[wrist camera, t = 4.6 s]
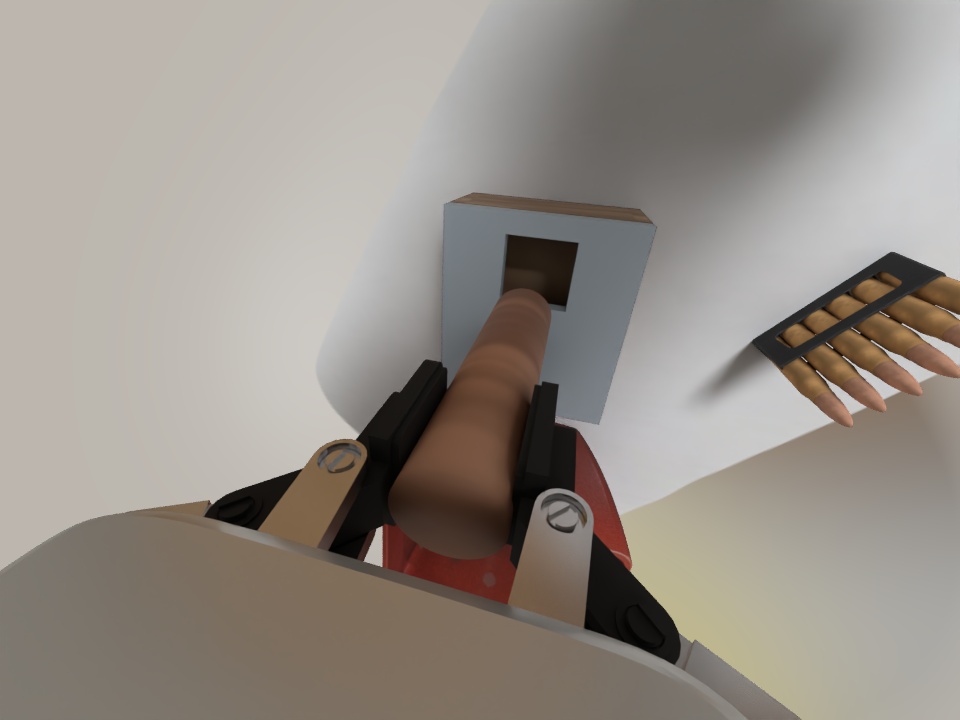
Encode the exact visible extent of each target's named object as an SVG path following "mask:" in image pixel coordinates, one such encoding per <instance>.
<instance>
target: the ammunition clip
mask: <svg viewBox="0 0 960 720" xmlns="http://www.w3.org/2000/svg"><path fill="white" fill-rule="evenodd" d="M866 304H868V305H866ZM935 305H937V306H939V307H942V308H944V309H946V310H949V311H951V312H953V313H956V314H958V315H960V281H958V280H955V279H952V278H949V277H946V275H945V273H943V272H941V271H938V270H936V269H933V268H931V267H929V266H926V265H924V264H921V263H919V262H917V261H914V260H912V259H909V258H907V257H905V256H902V255H900V254H897V253H895V252H890V253H889V254H887V255H885V256H884V257H882V258H881V259H879V260H878V261H876V262H874V263H873V264H871V265H870V266H868V267H867V268H865V269H863V270H862V271H860V272H859V273H857V274H856V275H854V276H852V277H851V278H849V279H848V280H846V281H845V282H843V283H841V284H840V285H838V286H837V287H835V288H834V289H832V290H830V291H829V292H827V293H826V294H824V295H823V296H821V297H819V298H818V299H816V300H815V301H813V302H812V303H810V304H808V305H807V306H805V307H804V308H802V309H801V310H799V311H797V312H796V313H794V314H793V315H791V316H790V317H788V318H786V319H785V320H783V321H782V322H780V323H779V324H777V325H775V326H774V327H772V328H771V329H769V330H768V331H766V332H764V333H763V334H761V335H760V336H758V337H757V338H755V339H753V342H752V343H753V344H754V345H755V346H756V347H757V348H758V349H759V350H760V351H761V352H762V353H763V354H764V355H765V356H766V357H767V358H768V359H769V360H771V361H772V362H773V363H774V365H775V366H776V367H777V368H778V369H779V370H780V371H781V372H782V373H783V374H784V375H785V377H786V378H787V379H788V380H789V381H790V382H791V383H792V384H793V385H794V386H795V388H796V389H797V390H798V391H799V392H800V393H801V394H802V395H804V396H805V397H807V398H808V399H810V400H811V401H812V402H813V403H814V404H815V405H816V406H818V407H819V409H820V410H821V411H822V412H824V413H825V414H826V415H827V416H829V417H830V418H831V419H833V420H834V421H836V422H838V423H839V424H841V425H844V426H846V427H852V426H853V420H852V417H851V415H850V413H849V411H848V410H847V408H846V407H845V405H844V404H843V403H842V402H841V400H840V399H839V398H838V397H837V396H836V395H835V394H834V392H833V391H832V390H831V389H830V388H829V386H828V384H827V382H826V381H825V380H824V379H823V378H822V377H821V376H820V375H819V374H818V373H817V372H816V370H817V371H818V372H820V373H821V374H822V375H823V376H824V377H825V378H826V379H827V380H829V381H830V382H832V383H833V384H835V385H837V386H839V387H840V388H841V389H842V390H844V391H845V392H847V393H848V394H849V395H850V396H851V397H853V398H854V399H855V400H857V401H858V402H860V403H861V404H863V405H865V406H867V407H869V408H871V409H873V410H876V411H879V412H886V405H885V403H884V401H883V399H882V397H881V396H880V394H879V393H878V392H877V391H876V390H875V389H874V388H873V386H871V385H870V384H869V383H868V382H867V381H866V380H865V379H864V378H863V377H862V376H861V375H860V374H859V373H858V372H857V370H856V369H855V367H854V366H853V365H852V364H851V363H849V362H848V361H847V360H846V359H844V358H843V357H842V356H845V357H846V358H847V359H849V360H850V361H851V362H852V363H854V364H855V365H857V366H858V367H860V368H862V369H864V370H866V371H869V372H870V373H872V374H873V375H875V376H876V377H878V378H880V379H881V380H882V381H884V382H885V383H887V384H888V385H890V386H892V387H894V388H896V389H898V390H900V391H902V392H905V393H908V394H911V395H916V396H921V395H922V394H923V392H922V389H921V387H920V385H919V384H918V382H917V381H916V379H915V378H914V377H913V376H912V375H911V374H910V373H909V372H907V371H906V370H905V369H904V368H902V367H901V366H899V365H898V364H897V363H896V362H895V361H894V360H892V359H891V358H890V357H889V356H888V355H887V353H886V352H885V351H884V350H883V349H881V348H880V347H878V346H877V345H875V344H874V343H872V342H871V340H873V341H874V342H876V343H877V344H879V345H880V346H882V347H883V348H885V349H886V350H888V351H890V352H893V353H895V354H898V355H901V356H903V357H904V358H906V359H908V360H910V361H912V362H914V363H916V364H917V365H919V366H921V367H923V368H925V369H927V370H929V371H932V372H934V373H937V374H940V375H943V376H947V377H953V378H960V369H959V367H958V366H957V365H956V364H955V363H954V362H953V361H952V360H951V359H950V358H949V357H948V356H946V355H945V354H944V353H942V352H941V351H939V350H938V349H936V348H934V347H933V346H932V345H930V344H929V343H927V342H926V341H924V340H923V339H922V338H921V337H920V336H919V335H918V334H917V333H915V332H914V331H912V330H911V329H909V328H907V327H905V326H903V325H902V323H903V324H905V325H907V326H909V327H911V328H913V329H915V330H917V331H918V332H920V333H922V334H925V335H929V336H933V337H936V338H938V339H940V340H942V341H945V342H948V343H950V344H952V345H954V346H956V347H958V348H960V320H959V319H957V318H956V317H955V316H954V315H952V314H951V313H950V312H948V311H946V310H944V309H941V308H939V307H937V306H935ZM879 311H881V312H883V313H884V314H886V315H888V316H890V317H887V316H885V315H884V314H882V313H880V312H879ZM839 319H840V320H841V321H840V320H839ZM852 328H854V329H855V330H857V331H859V332H860V334H859V333H858V332H856V331H855V330H853V329H852ZM815 334H816V335H815ZM826 342H827V343H828V344H829V345H830V346H832V347H833V349H832V348H831V347H830V346H828V345H827V344H826ZM801 356H802V357H803V358H804V359H805V360H807V361H808V362H806V361H805V360H804V359H803V358H802V357H801Z"/></svg>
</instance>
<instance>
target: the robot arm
mask: <svg viewBox="0 0 960 720" xmlns="http://www.w3.org/2000/svg"><path fill="white" fill-rule="evenodd" d="M447 373H448V371H447V368H446V367H443V364H442V362H437V361H432V360H425V361H424V362H423V363H422V364H421V366H420V367H419V368H418V370H417V371H416V372H415V374H414V375H413V376H412V378H411V379H410V380H409V382H408V383H407V384H406V386H405V387H404V388H403V390H402V391H401V392H394V393H393V394H392V395H391V396H390V397H389V398H388V399H387V401H386V402H385V403H384V405H383V406H382V407H381V408H380V410H379V411H378V412H377V414H376V415H375V416H374V417H373V419H372V420H371V421H370V422H369V424H368V425H367V426H366V428H365V429H364V430H363V431H362V433H361V434H360V435H359V437H358V438H357V439H356V440H352V439H340V440H335V441H332V442H330V443H327V444H325V445H324V446H322V447H320V448H319V449H318V450H317V451H316V453H315V454H314V455H313V456H312V458H311V459H310V460H309V462H308V463H307V464H306V466H305V467H304V468H303V469H300V470H297V471H294V472H291V473H288V474H285V475H282V476H279V477H276V478H273V479H270V480H267V481H264V482H261V483H258V484H255V485H252V486H249V487H245V488H242V489H240V490H236V491H234V492H232V493H229V494H227V495H225V496H224V497H222V498H221V499H219V500H217V501H216V502H215V503H214V504H211V503H210V501H209V500H208V501H200V502H193V503H186V504H180V505H172V506H165V507H158V508H151V509H143V510H136V511H130V512H126V513H120V514H113V515H107V516H102V517H98V518H94V519H90V520H87V521H85V522H82V523H79V524H76V525H74V526H72V527H70V528H68V529H66V530H64V531H62V532H60V533H58V534H57V535H55V536H53V537H51V538H50V539H48V540H46V541H45V542H43V543H42V544H40V545H38V546H37V547H35V548H34V549H32V550H31V551H29V552H28V553H26V554H25V555H23V556H21V557H20V558H19V559H17V560H15V561H14V562H12V563H11V564H9V565H8V566H6V567H5V568H4V569H2V570H1V571H0V720H801V719H800V718H799V717H798V716H797V715H796V714H794V713H793V712H792V711H790V710H789V709H788V708H786V707H785V706H784V705H782V704H781V703H779V702H778V701H777V700H776V699H774V698H773V697H771V696H770V695H769V694H768V693H766V692H765V691H764V690H762V689H761V688H760V687H758V686H757V685H756V684H754V683H753V682H752V681H750V680H749V679H748V678H746V677H745V676H744V675H742V674H741V673H739V672H738V671H737V670H736V669H734V668H733V667H731V666H730V665H729V664H727V663H726V662H725V661H723V660H722V659H721V658H719V657H718V656H717V655H715V654H714V653H713V652H711V651H710V650H709V649H707V648H706V647H704V646H703V645H702V644H700V643H699V642H698V641H697V640H694V642H693V643H691V642H690V641H689V640H687V639H686V638H685V637H683V636H682V635H681V634H679V632H678V630H677V628H676V626H675V624H674V621H673V620H672V618H671V617H670V616H669V614H668V613H667V612H666V610H665V609H664V608H663V607H662V606H661V605H660V604H659V603H658V602H657V600H656V599H655V598H654V597H653V596H652V595H651V594H650V593H649V592H648V591H647V590H646V589H645V587H644V586H643V585H642V584H641V583H640V582H639V581H638V580H637V579H636V578H635V577H634V575H632V573H631V572H630V571H629V570H628V569H627V568H626V567H625V566H624V565H623V564H622V562H621V561H620V560H619V559H618V558H617V557H616V556H615V555H614V554H613V553H612V552H611V551H610V549H609V548H608V547H607V546H606V545H605V544H604V543H603V542H602V541H601V540H600V539H599V537H598V536H597V535H596V534H595V533H594V532H593V525H594V519H593V513H592V511H591V508H590V506H589V505H588V504H587V503H586V501H585V500H584V499H583V498H581V497H580V496H579V495H577V494H576V493H575V472H576V440H577V430H576V429H575V428H570V427H566V426H561V425H556V424H555V415H556V406H557V397H558V389H559V384H555V383H550V382H545V381H542V385H537V384H535V386H534V391H533V396H532V400H531V405H530V410H529V414H528V419H527V424H526V428H525V433H524V438H523V442H522V447H521V452H520V456H519V461H518V466H517V471H516V477H515V483H514V489H513V495H512V503H513V516H512V521H511V526H510V531H509V536H508V540H507V542H506V544H507V545H510V546H512V549H511V555H510V561H511V563H512V564H513V566H514V567H515V569H516V570H517V571H516V575H515V579H514V582H513V586H512V590H511V594H510V597H509V601H508V605H507V604H504V603H501V602H497V601H494V600H491V599H487V598H484V597H481V596H477V595H474V594H471V593H467V592H464V591H461V590H457V589H454V588H451V587H447V586H444V585H441V584H437V583H434V582H431V581H427V580H424V579H421V578H417V577H414V576H410V575H407V574H404V573H400V572H397V571H394V570H390V569H387V568H383V567H380V566H376V565H373V564H370V563H366V562H363V561H364V559H365V557H366V554H367V552H368V550H369V547H370V545H371V543H372V541H373V538H374V536H375V532H376V529H377V528H379V527H381V526H384V524H387V525H391V526H394V527H395V525H396V523H395V521H394V520H393V518H392V516H391V513H390V511H389V507H388V495H389V492H390V489H391V487H392V486H393V484H394V482H395V480H396V479H397V477H398V475H399V473H400V472H401V470H402V468H403V466H404V465H405V463H406V461H407V459H408V458H409V456H410V454H411V452H412V451H413V449H414V447H415V445H416V444H417V442H418V440H419V438H420V437H421V435H422V433H423V431H424V430H425V428H426V426H427V424H428V423H429V421H430V419H431V417H432V415H433V414H434V412H435V410H436V408H437V407H438V405H439V403H440V401H441V400H442V398H443V396H444V394H445V393H446V391H447Z"/></svg>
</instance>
